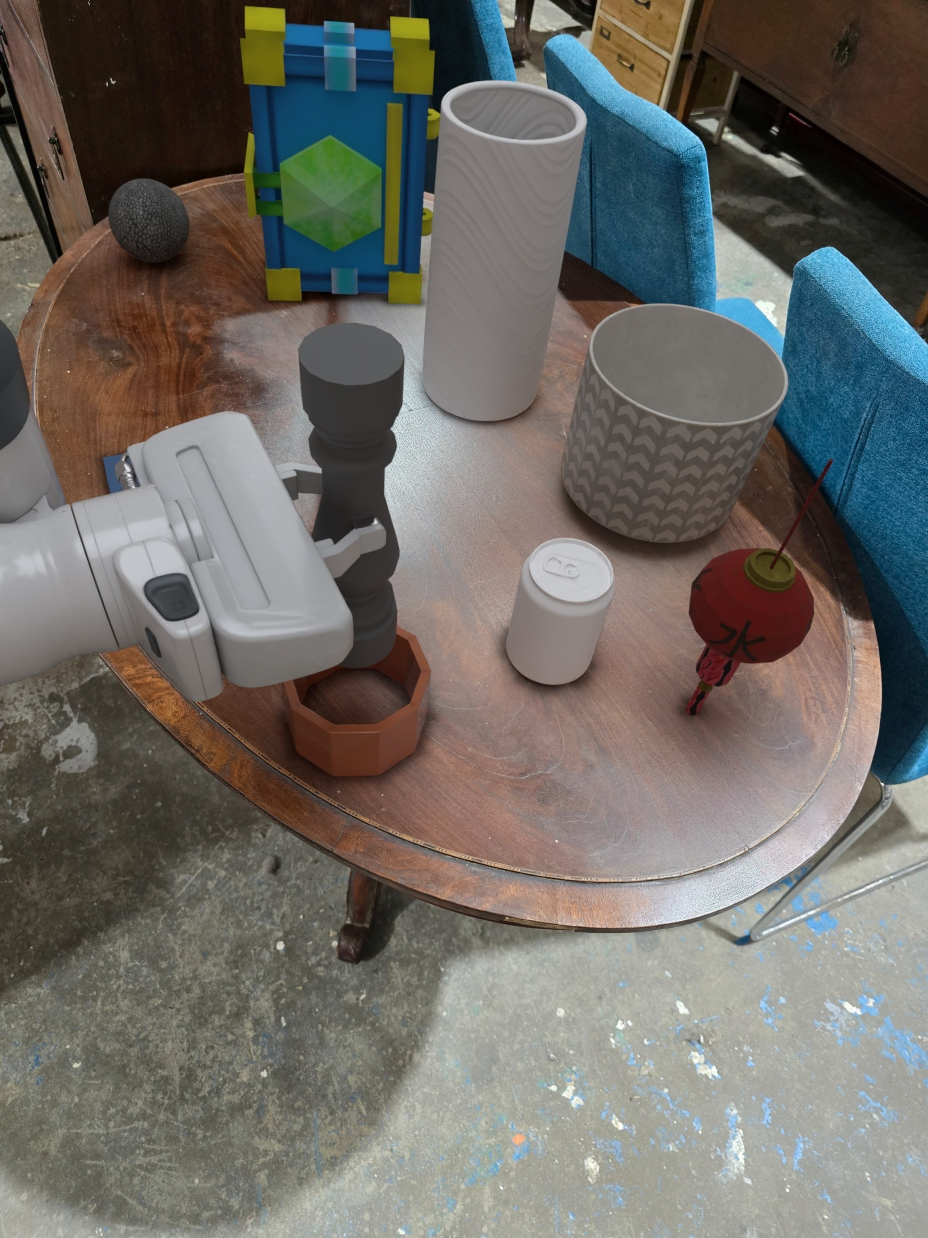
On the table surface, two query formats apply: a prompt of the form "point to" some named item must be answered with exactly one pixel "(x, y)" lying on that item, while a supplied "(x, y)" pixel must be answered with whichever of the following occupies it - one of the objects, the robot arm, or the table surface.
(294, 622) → the robot arm
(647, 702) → the table surface
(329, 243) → the decorative book
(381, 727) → the terracotta pot
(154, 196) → the decorative ball
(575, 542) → the beverage can
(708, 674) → the lantern
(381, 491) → the candle holder
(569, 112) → the vase
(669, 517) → the planter
